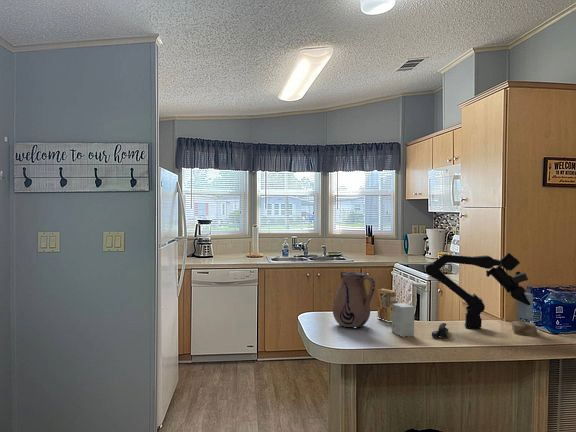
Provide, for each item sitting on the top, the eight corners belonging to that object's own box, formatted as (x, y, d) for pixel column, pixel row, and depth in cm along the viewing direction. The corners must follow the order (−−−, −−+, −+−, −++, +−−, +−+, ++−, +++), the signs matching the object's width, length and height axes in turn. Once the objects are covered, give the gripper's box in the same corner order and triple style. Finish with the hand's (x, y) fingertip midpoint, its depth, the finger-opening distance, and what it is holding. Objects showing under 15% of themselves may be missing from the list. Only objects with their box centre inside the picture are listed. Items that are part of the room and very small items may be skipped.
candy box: (396, 322, 220) (396, 291, 220) (389, 323, 218) (390, 291, 218) (382, 318, 228) (383, 288, 227) (376, 319, 225) (377, 288, 225)
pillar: (525, 319, 203) (526, 294, 203) (516, 316, 207) (517, 293, 207) (532, 318, 205) (533, 294, 205) (523, 316, 209) (524, 292, 209)
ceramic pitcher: (343, 319, 223) (344, 269, 223) (383, 326, 211) (384, 273, 210) (325, 326, 209) (326, 273, 209) (366, 334, 197) (367, 277, 196)
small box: (414, 336, 196) (414, 306, 196) (401, 337, 194) (402, 307, 193) (403, 331, 203) (404, 302, 203) (391, 332, 201) (392, 303, 201)
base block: (514, 334, 204) (514, 325, 204) (512, 329, 212) (512, 321, 212) (536, 336, 200) (536, 327, 200) (533, 331, 209) (533, 323, 209)
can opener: (447, 341, 190) (447, 328, 190) (430, 338, 193) (430, 325, 193) (453, 331, 205) (453, 319, 205) (437, 329, 209) (437, 317, 208)
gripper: (520, 268, 198) (547, 295, 195) (513, 264, 216) (538, 288, 212) (500, 285, 200) (526, 311, 197) (494, 279, 218) (519, 303, 215)
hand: (528, 303), depth 205 cm, fingers closed on pillar, 6 cm apart
